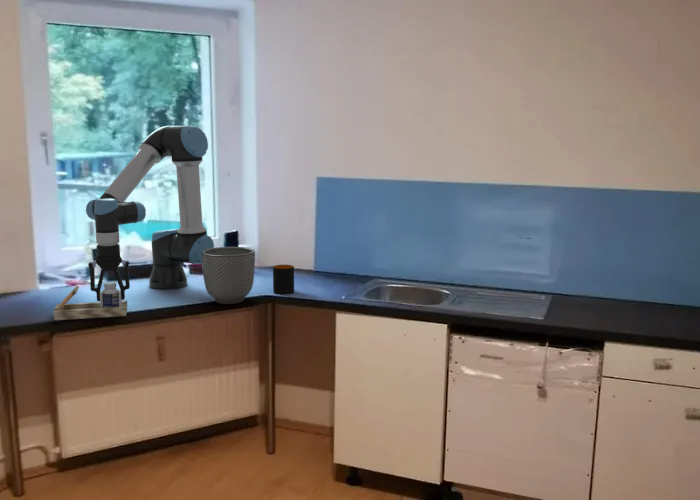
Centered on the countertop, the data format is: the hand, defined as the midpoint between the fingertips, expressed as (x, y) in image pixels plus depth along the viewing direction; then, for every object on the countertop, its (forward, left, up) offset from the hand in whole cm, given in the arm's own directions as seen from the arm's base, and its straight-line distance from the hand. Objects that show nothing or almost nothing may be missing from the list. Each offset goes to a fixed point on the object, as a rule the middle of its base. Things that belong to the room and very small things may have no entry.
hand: (111, 309), depth 241 cm
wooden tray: (+6, 0, -1) cm, 7 cm away
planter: (-42, -8, -2) cm, 42 cm away
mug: (-64, -19, -2) cm, 66 cm away
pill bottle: (0, 0, -1) cm, 1 cm away
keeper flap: (+13, 0, +5) cm, 14 cm away
